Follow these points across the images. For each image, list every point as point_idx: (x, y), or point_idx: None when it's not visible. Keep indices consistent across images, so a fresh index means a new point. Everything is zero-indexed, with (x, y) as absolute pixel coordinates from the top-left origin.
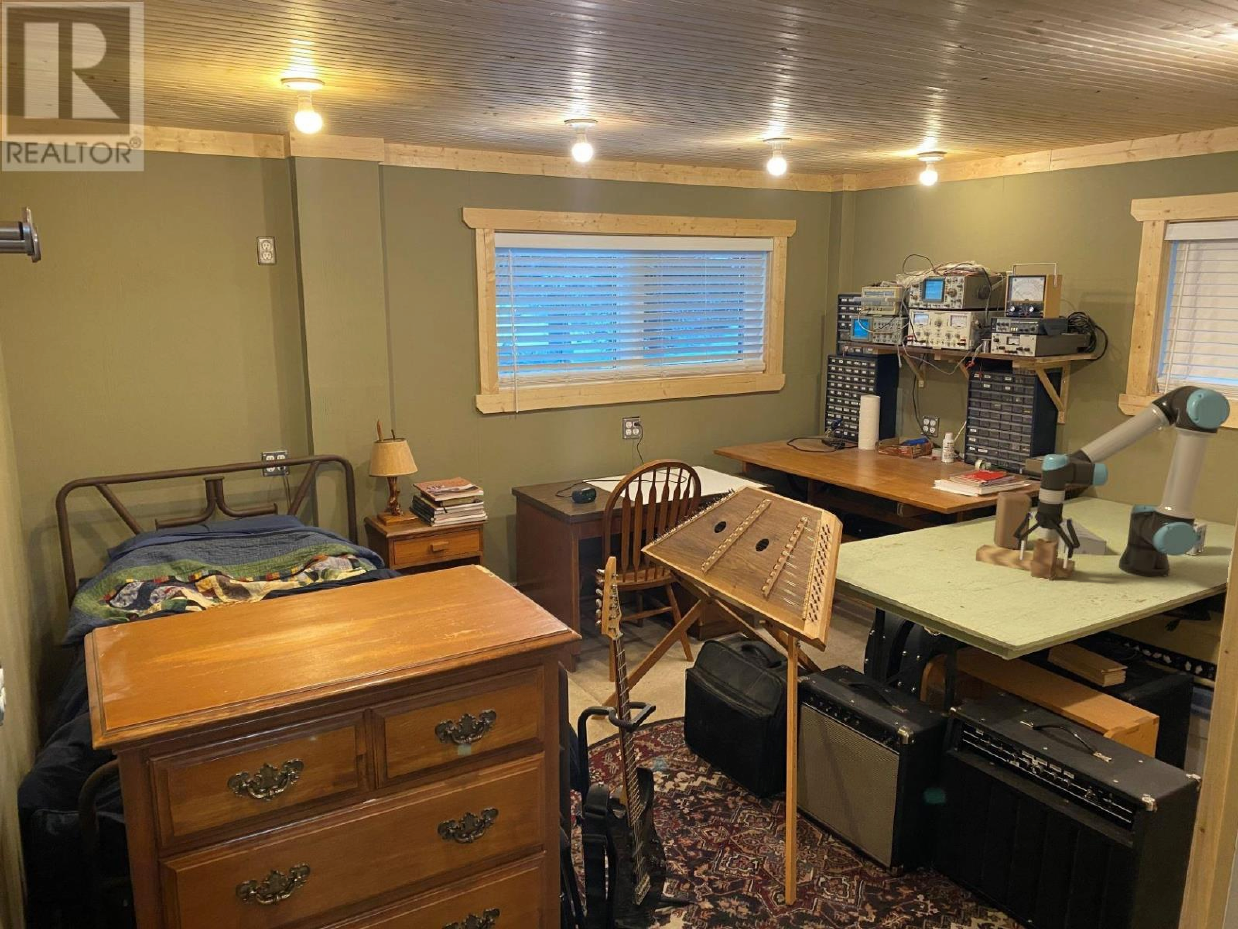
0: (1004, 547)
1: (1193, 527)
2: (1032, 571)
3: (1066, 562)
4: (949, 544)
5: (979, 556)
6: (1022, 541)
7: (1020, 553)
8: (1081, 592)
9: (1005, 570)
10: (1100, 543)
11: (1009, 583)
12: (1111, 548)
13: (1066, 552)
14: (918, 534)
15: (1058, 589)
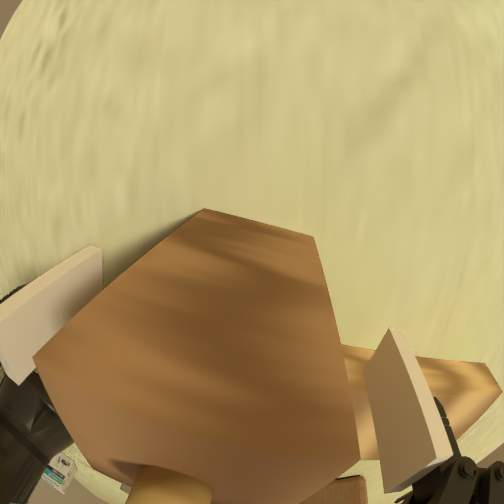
0: (350, 480)
1: (41, 476)
2: (309, 248)
3: (62, 262)
4: (471, 441)
5: (486, 375)
6: (447, 450)
7: (415, 361)
8: (75, 89)
9: (426, 297)
10: (130, 488)
11: (421, 55)
12: None
13: (10, 305)
14: (490, 449)
15: (161, 60)
